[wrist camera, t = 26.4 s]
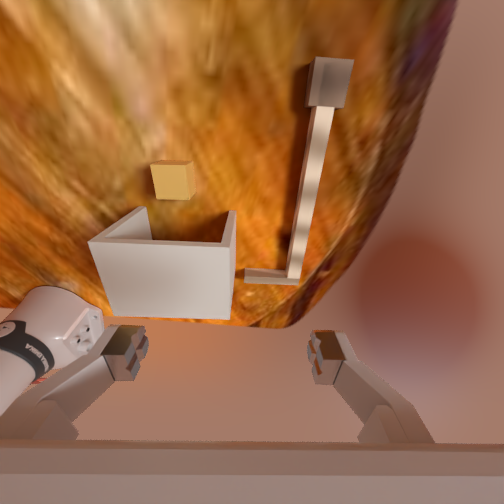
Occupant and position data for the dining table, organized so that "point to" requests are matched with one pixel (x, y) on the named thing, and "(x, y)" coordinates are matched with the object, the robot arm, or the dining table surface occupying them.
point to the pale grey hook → (310, 161)
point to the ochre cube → (173, 179)
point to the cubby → (164, 271)
